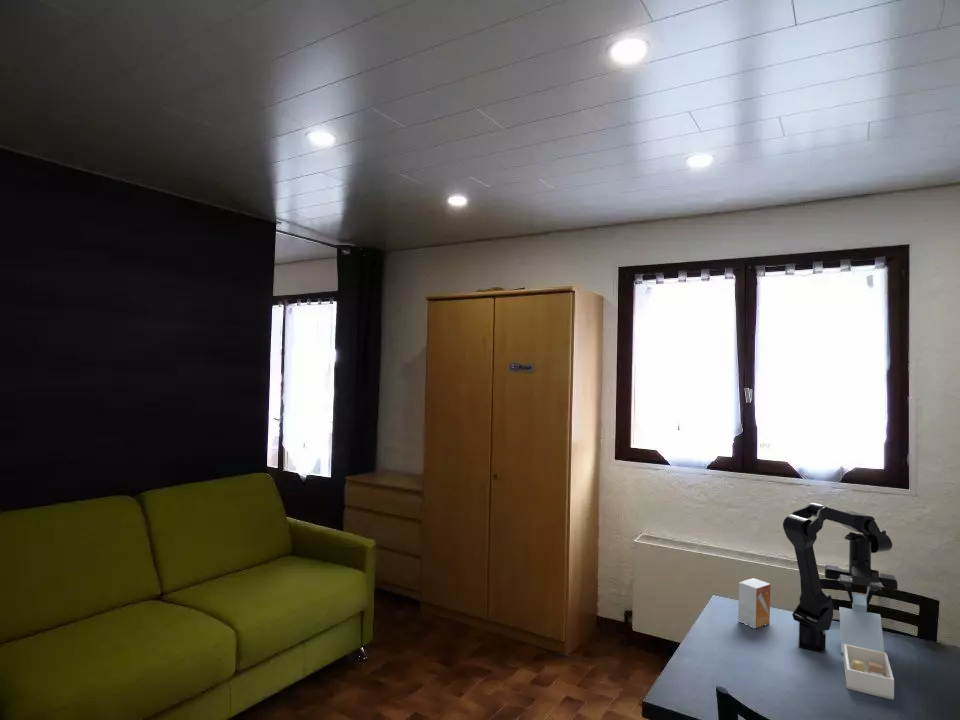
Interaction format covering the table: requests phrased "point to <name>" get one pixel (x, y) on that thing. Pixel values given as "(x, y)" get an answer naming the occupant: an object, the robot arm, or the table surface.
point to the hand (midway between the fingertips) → (859, 604)
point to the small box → (754, 602)
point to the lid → (860, 626)
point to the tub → (868, 671)
